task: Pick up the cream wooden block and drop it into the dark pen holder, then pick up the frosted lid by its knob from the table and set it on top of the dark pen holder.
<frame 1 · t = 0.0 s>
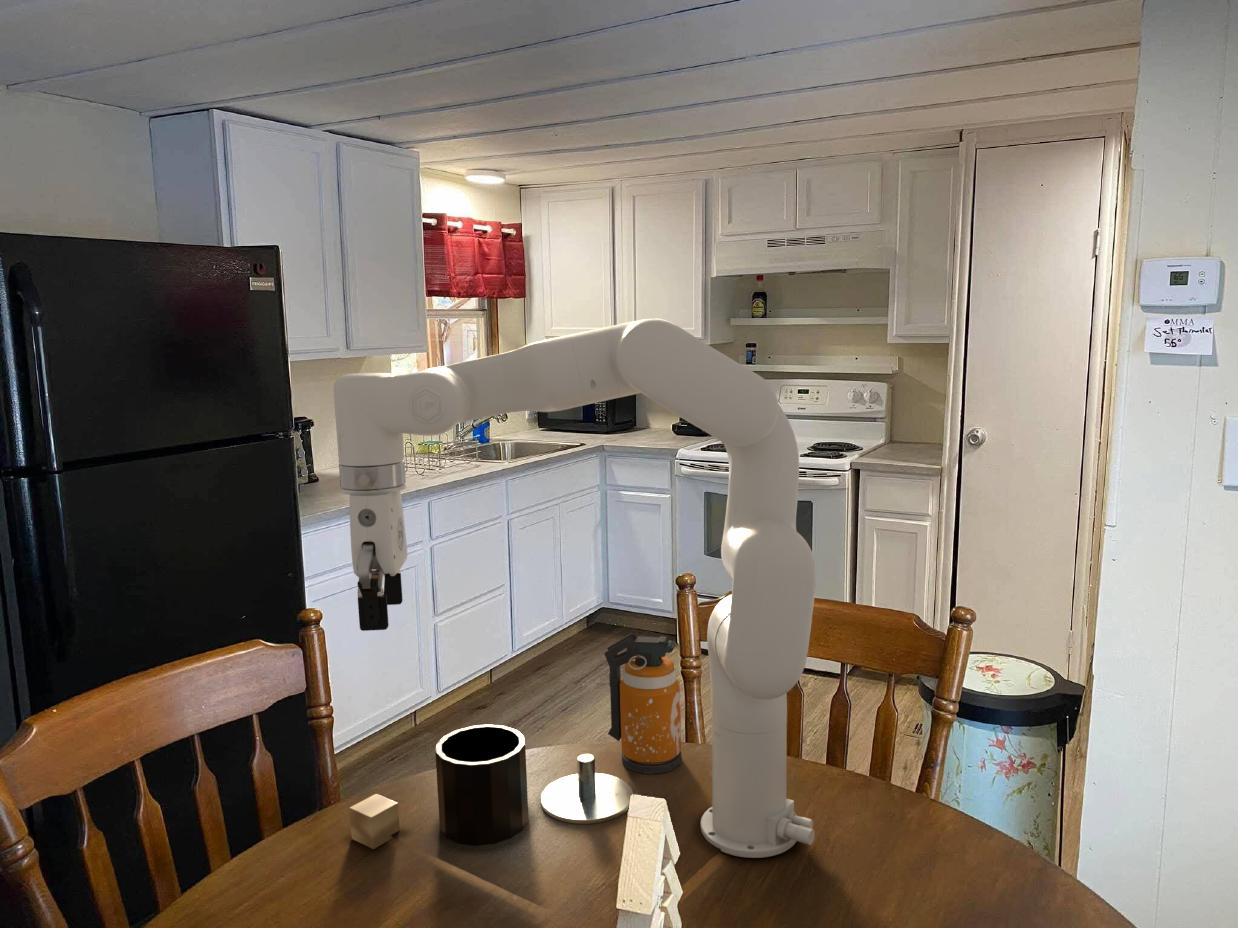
hand: (382, 616, 111), 31 cm above the table, tool pointing down, fingers open, 9 cm apart
canister: (644, 764, 137), on the table
lid: (587, 798, 126), point 1 cm above the table
block: (375, 836, 119), on the table
dark pen holder: (484, 824, 121), on the table
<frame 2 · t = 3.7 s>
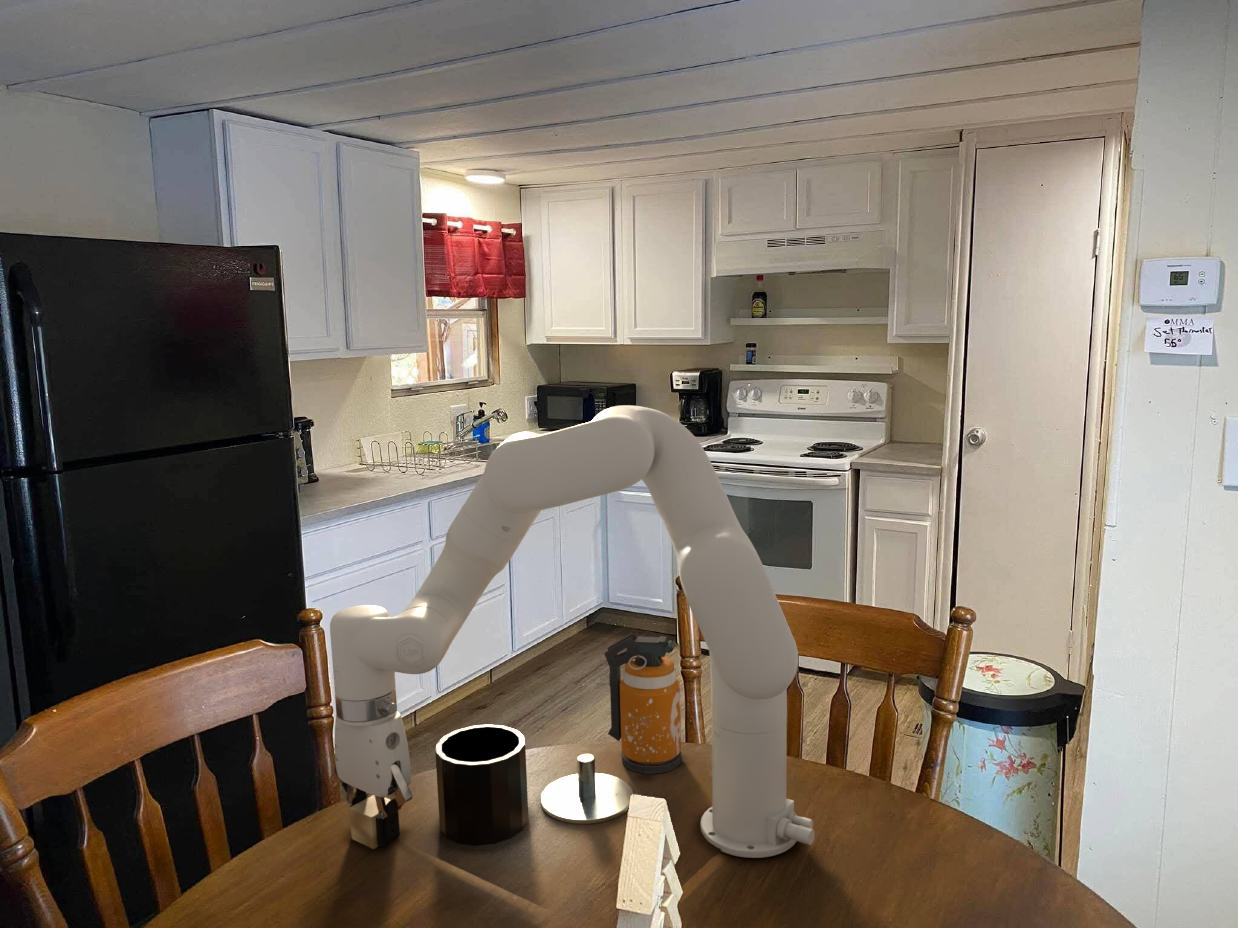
hand: (375, 833, 119), 0 cm above the table, tool pointing down, fingers closed on block, 4 cm apart
block: (375, 836, 119), on the table, touching gripper
everything else where it was.
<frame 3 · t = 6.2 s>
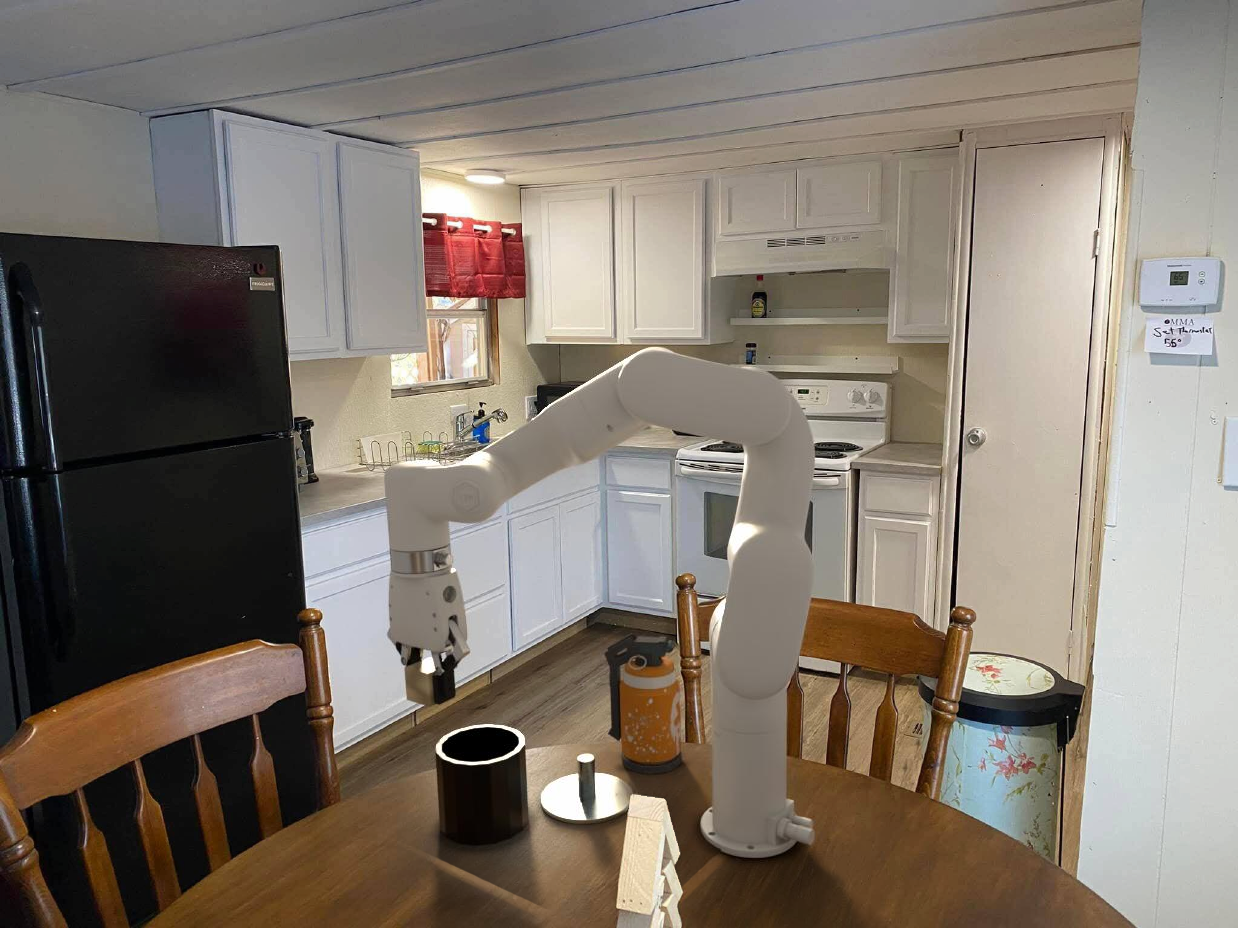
hand: (431, 694, 118), 19 cm above the table, tool pointing down, fingers closed on block, 4 cm apart
block: (431, 697, 118), point 18 cm above the table, touching gripper
everything else where it was.
when the fingers open (11 cm above the table, at t = 9.3 s): block stays where it is, resting on dark pen holder.
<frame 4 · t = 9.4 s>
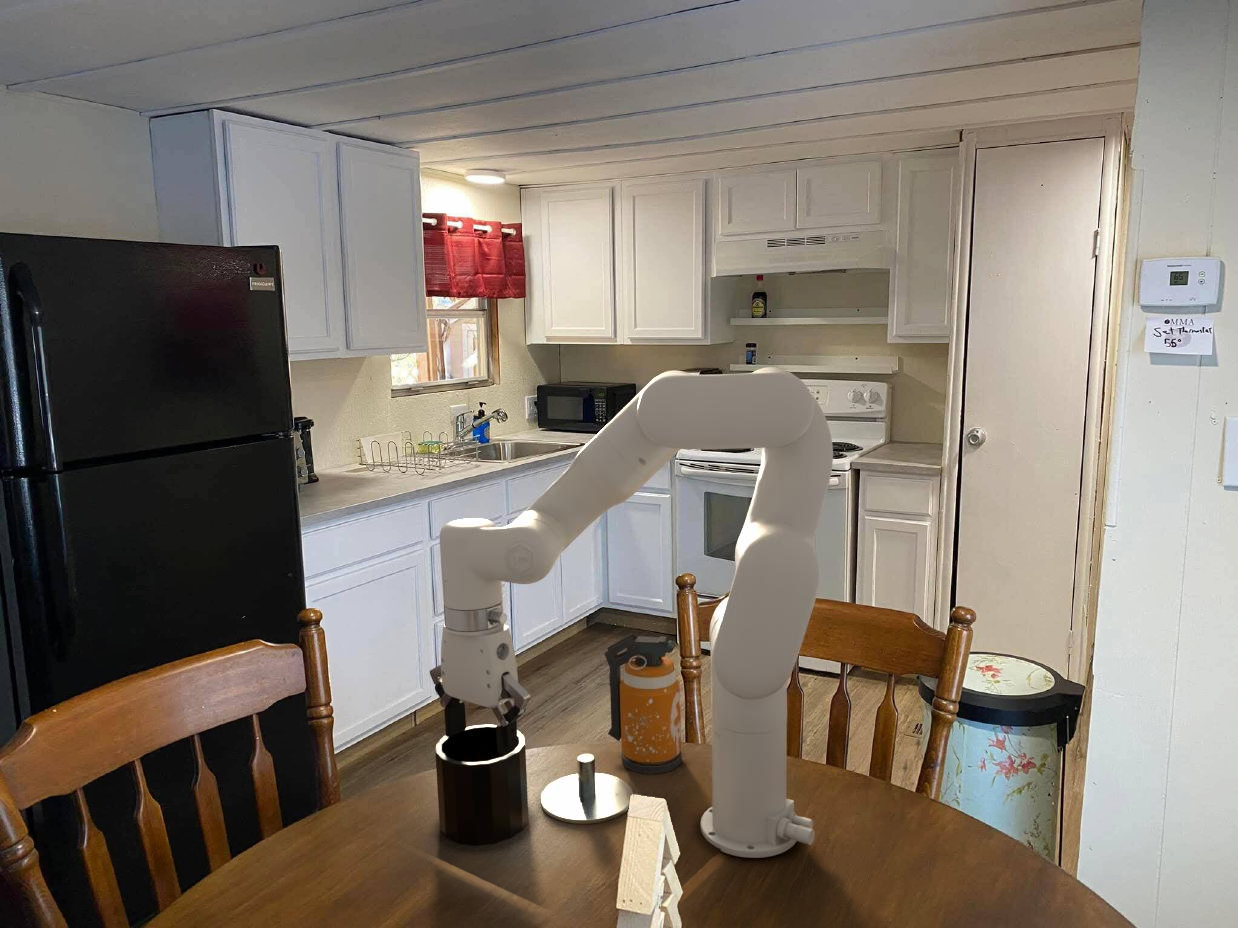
hand: (481, 741, 120), 12 cm above the table, tool pointing down, fingers open, 9 cm apart
block: (484, 820, 121), resting on dark pen holder
everything else where it was.
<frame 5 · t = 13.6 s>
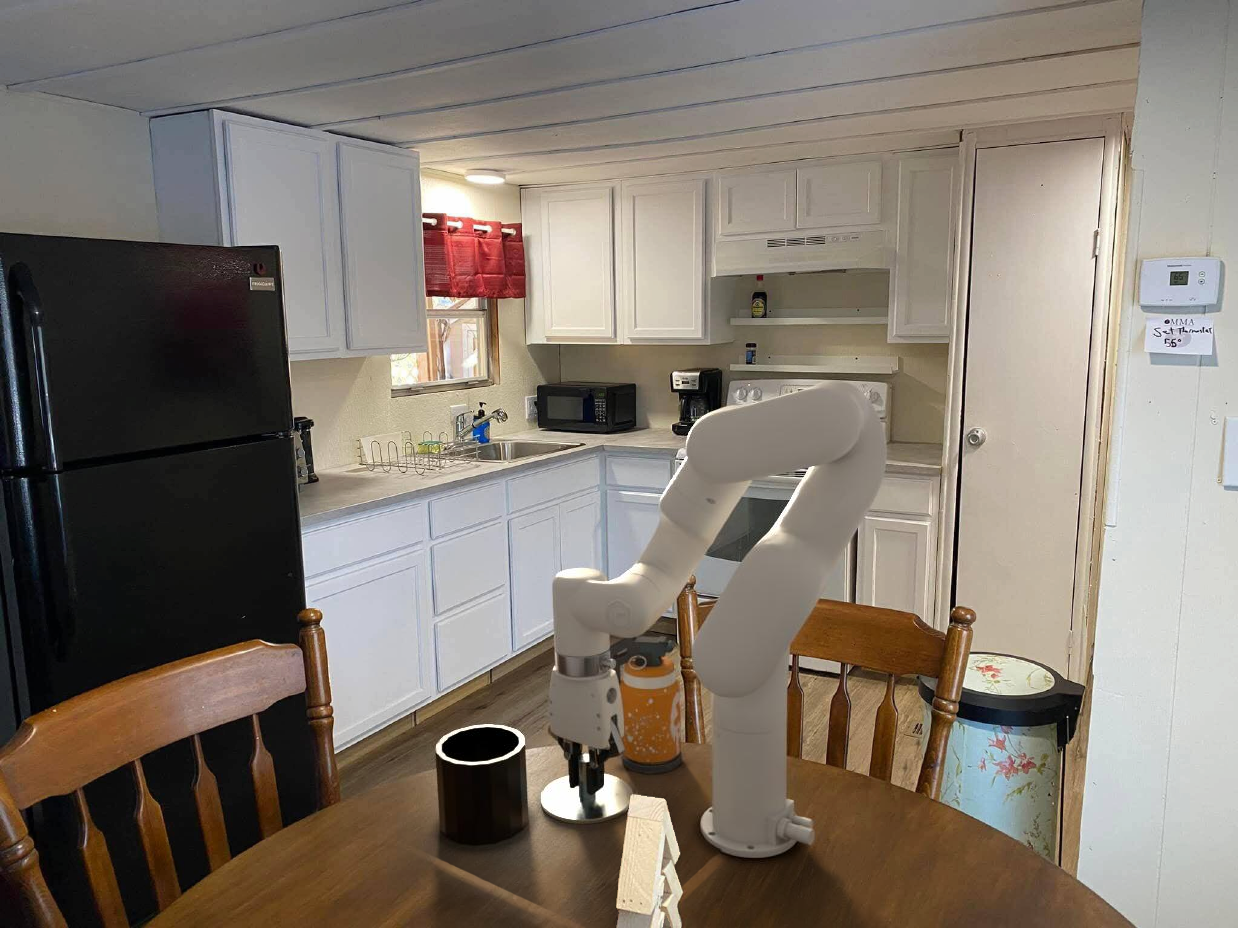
hand: (586, 786, 126), 2 cm above the table, tool pointing down, fingers closed on lid, 2 cm apart
lid: (587, 798, 126), point 1 cm above the table, touching gripper
everything else where it was.
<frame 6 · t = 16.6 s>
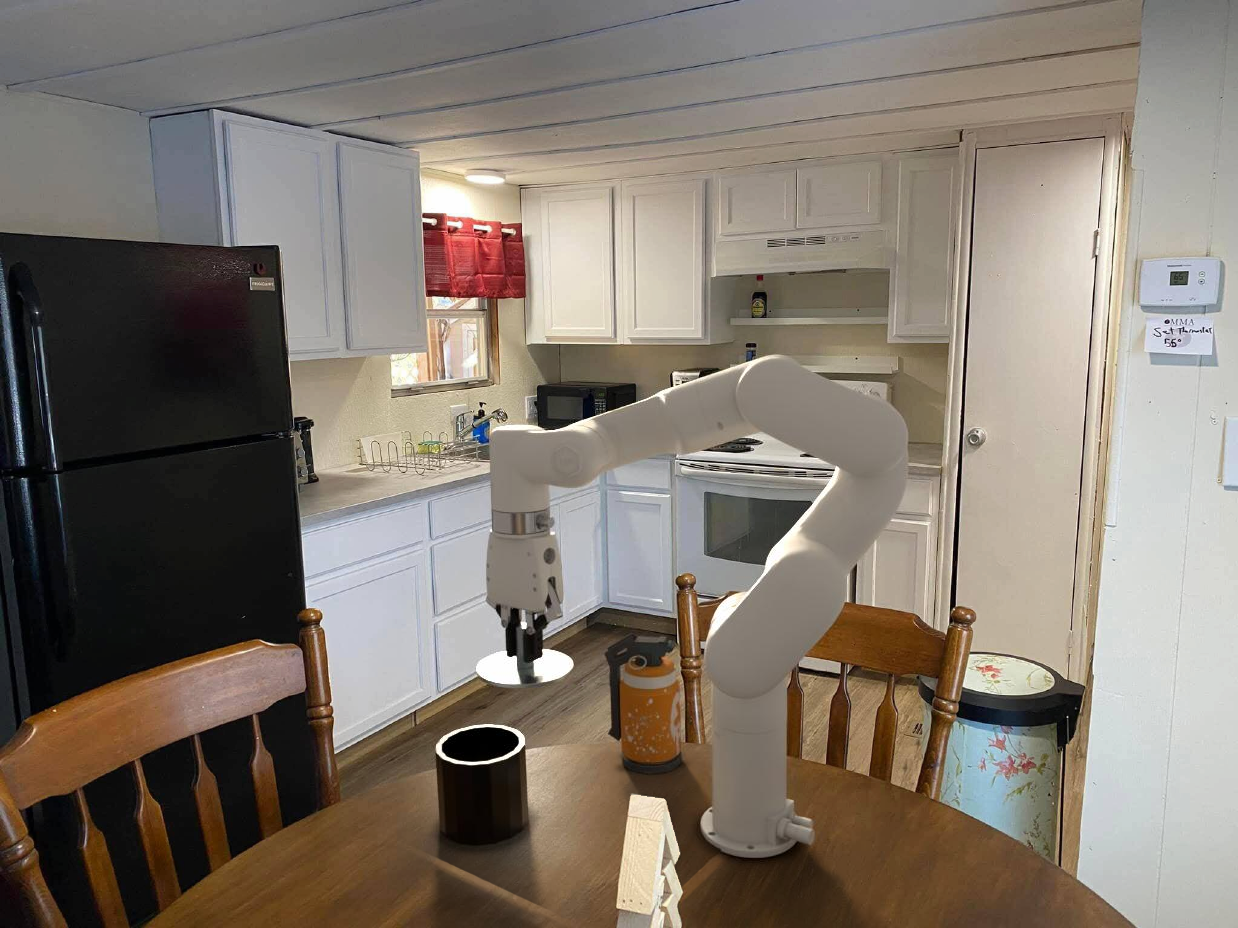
hand: (524, 656, 120), 22 cm above the table, tool pointing down, fingers closed on lid, 2 cm apart
lid: (525, 669, 121), point 21 cm above the table, touching gripper
everything else where it was.
when the fingers open (13 cm above the table, at t = 19.5 s): lid stays where it is, resting on dark pen holder.
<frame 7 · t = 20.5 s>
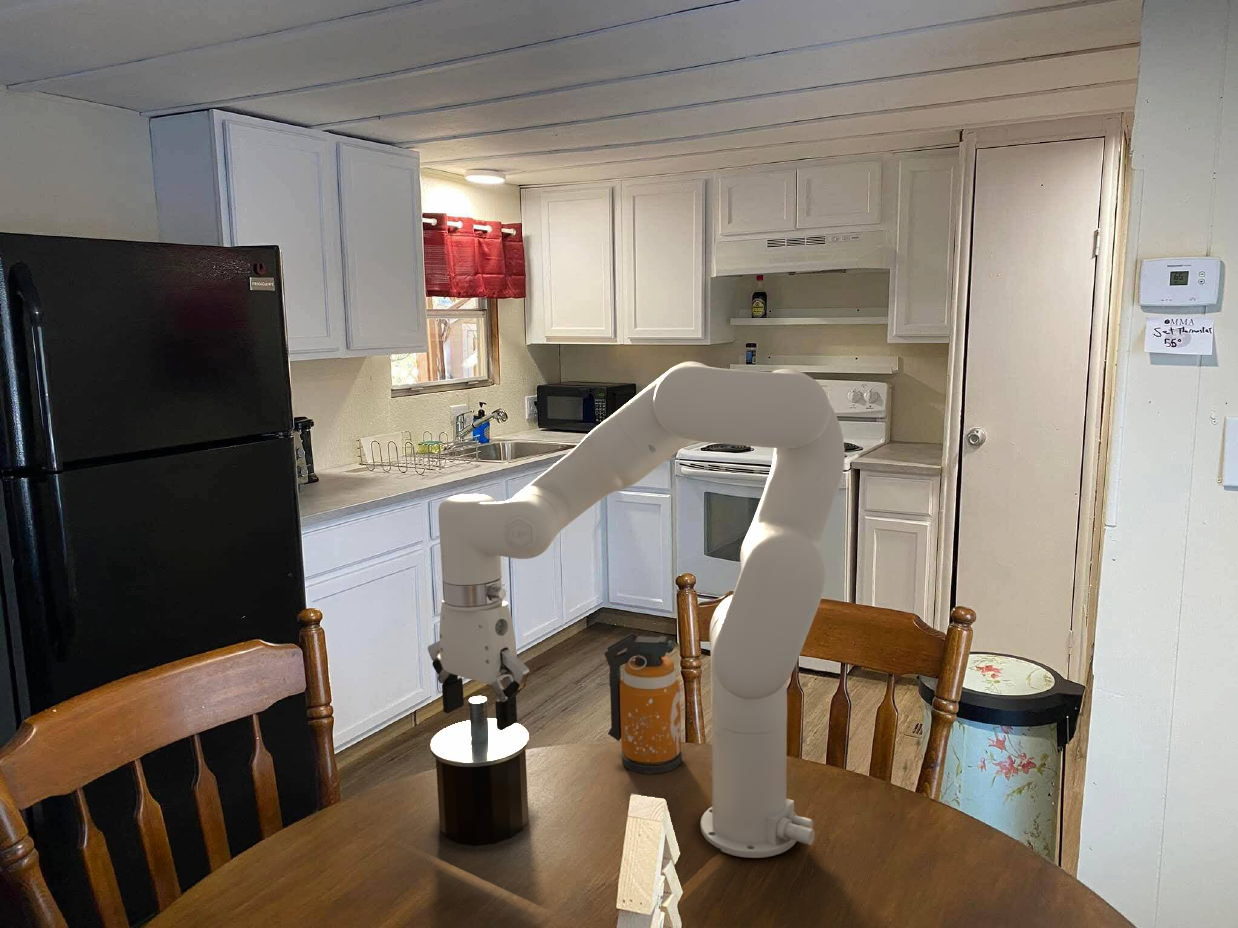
hand: (479, 717, 119), 15 cm above the table, tool pointing down, fingers open, 9 cm apart
lid: (480, 743, 120), point 11 cm above the table, touching dark pen holder
everything else where it was.
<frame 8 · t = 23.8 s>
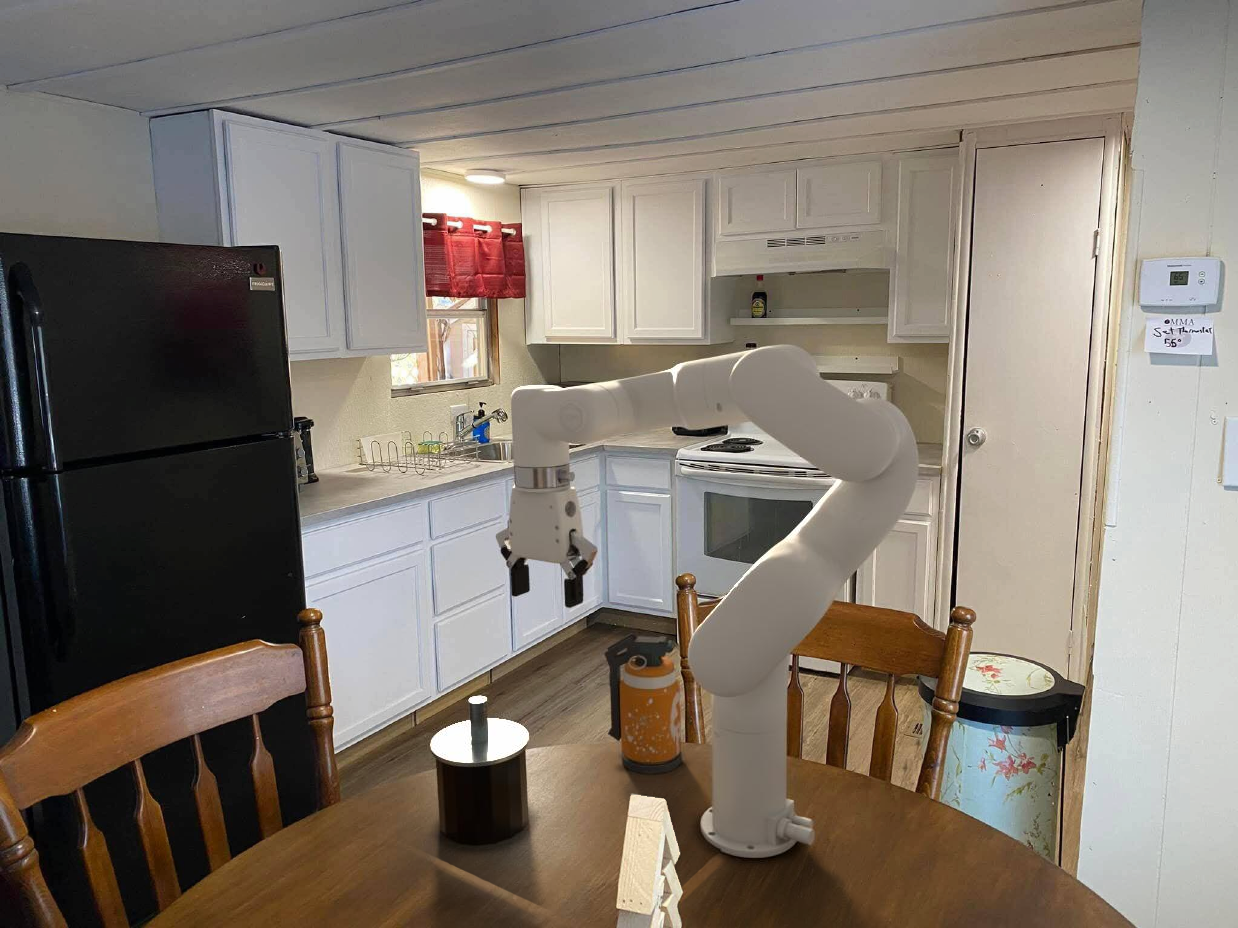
hand: (546, 599, 126), 28 cm above the table, tool pointing down, fingers open, 9 cm apart
nothing on the table moved.
at the end: block inside the target area in the dark pen holder (0.1 cm from its centre), point 0.5 cm above the dark pen holder's base; lid 0.1 cm off-centre on the dark pen holder, point 11.5 cm above the dark pen holder's base; lid tilted 0° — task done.
